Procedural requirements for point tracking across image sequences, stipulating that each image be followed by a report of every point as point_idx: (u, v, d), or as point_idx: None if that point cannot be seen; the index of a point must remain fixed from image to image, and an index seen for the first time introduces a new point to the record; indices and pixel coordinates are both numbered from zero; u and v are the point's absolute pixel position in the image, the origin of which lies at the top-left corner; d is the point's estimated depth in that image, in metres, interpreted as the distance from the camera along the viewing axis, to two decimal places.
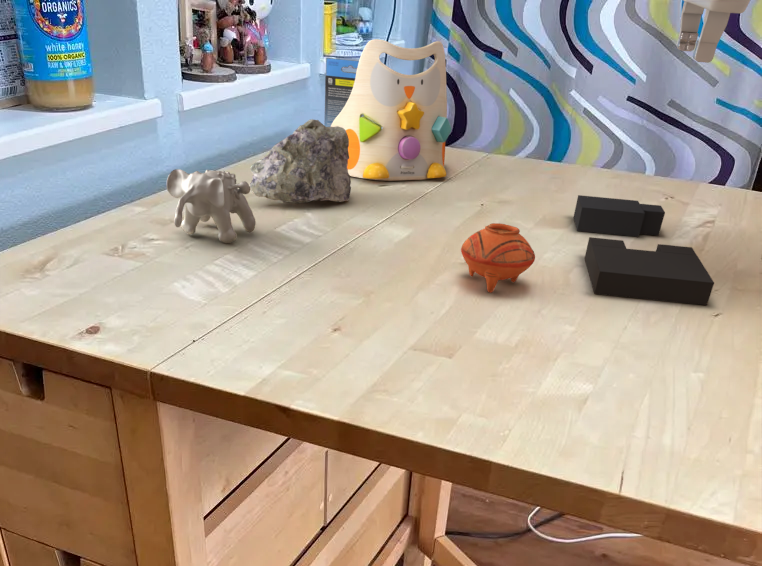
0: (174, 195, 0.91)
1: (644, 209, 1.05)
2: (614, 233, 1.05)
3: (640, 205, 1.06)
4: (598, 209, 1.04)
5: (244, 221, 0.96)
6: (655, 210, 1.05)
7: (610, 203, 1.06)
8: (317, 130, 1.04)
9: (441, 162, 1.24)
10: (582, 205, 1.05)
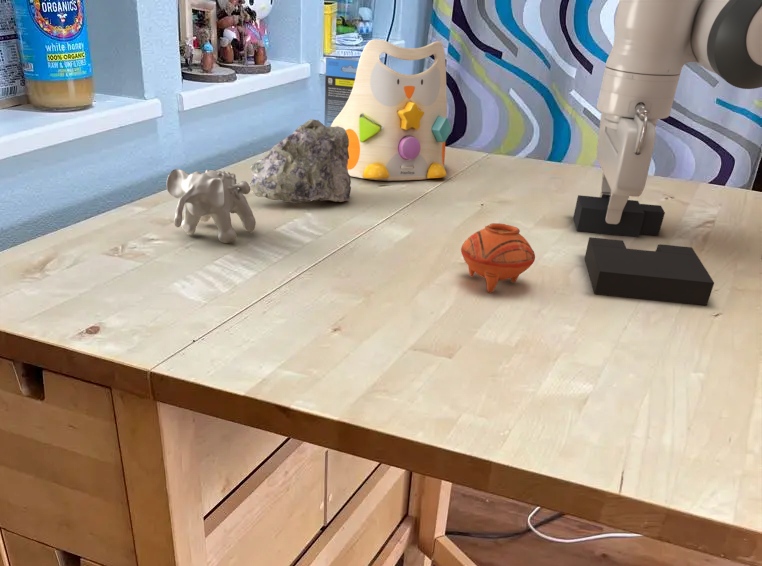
0: (174, 195, 0.91)
1: (644, 209, 1.05)
2: (614, 233, 1.05)
3: (640, 205, 1.06)
4: (598, 209, 1.04)
5: (244, 221, 0.96)
6: (655, 210, 1.05)
7: None
8: (317, 130, 1.04)
9: (441, 162, 1.24)
10: (582, 205, 1.05)
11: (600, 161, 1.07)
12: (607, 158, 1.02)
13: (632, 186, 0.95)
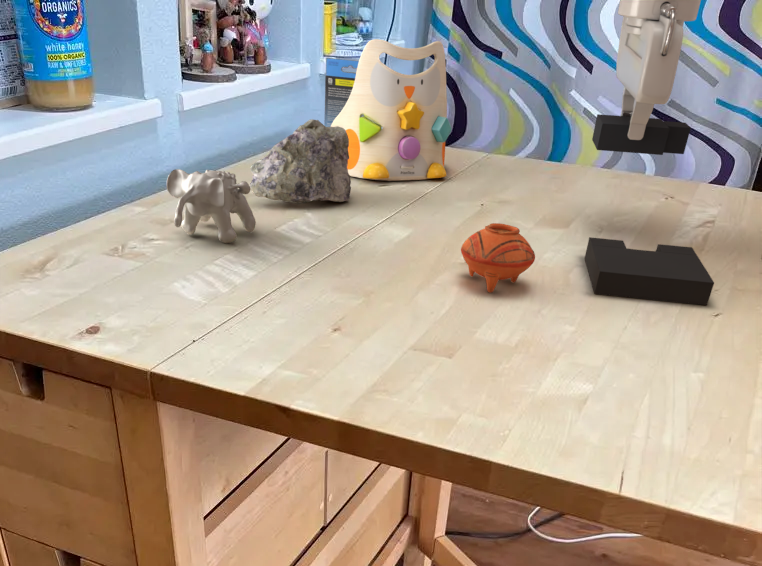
0: (174, 195, 0.91)
1: (668, 125, 0.99)
2: (636, 151, 0.99)
3: (664, 122, 1.00)
4: (619, 125, 0.98)
5: (244, 221, 0.96)
6: (680, 126, 0.98)
7: None
8: (317, 130, 1.04)
9: (441, 162, 1.24)
10: (602, 122, 0.98)
11: (621, 76, 1.01)
12: (629, 69, 0.96)
13: (658, 92, 0.89)
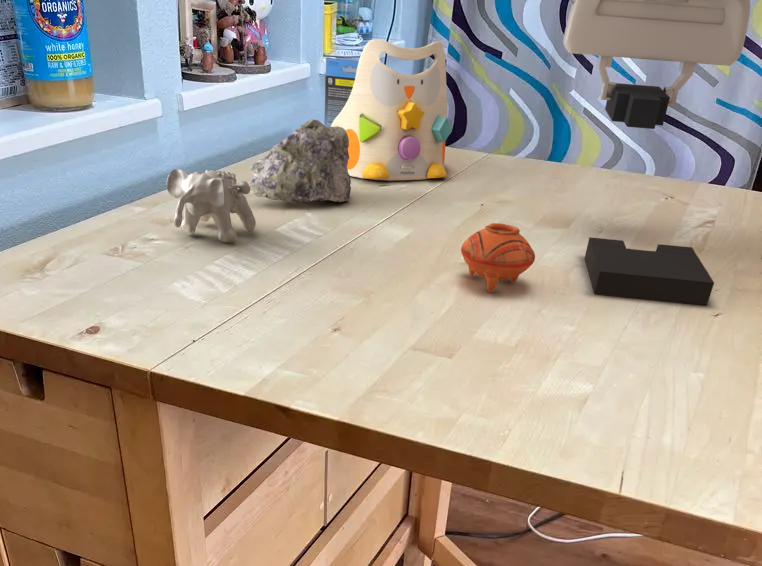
0: (174, 195, 0.91)
1: (634, 94, 0.94)
2: (609, 115, 0.99)
3: (649, 95, 0.94)
4: None
5: (244, 221, 0.96)
6: (636, 96, 0.93)
7: (641, 89, 0.97)
8: (317, 130, 1.04)
9: (441, 162, 1.24)
10: (618, 83, 1.01)
11: None
12: None
13: (564, 39, 0.95)
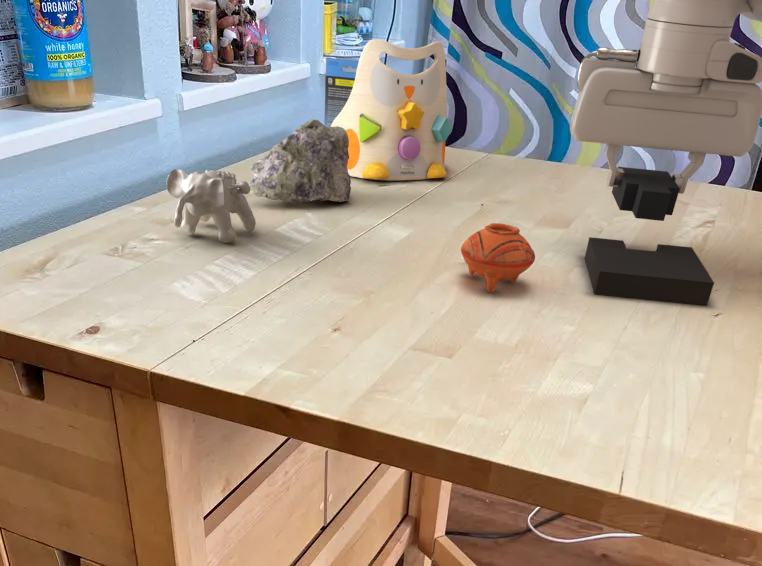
0: (174, 195, 0.91)
1: (643, 185, 0.91)
2: (616, 201, 0.96)
3: (658, 185, 0.91)
4: None
5: (244, 221, 0.96)
6: (645, 188, 0.90)
7: (649, 177, 0.95)
8: (317, 130, 1.04)
9: (441, 162, 1.24)
10: (625, 167, 0.98)
11: None
12: None
13: (571, 126, 0.92)
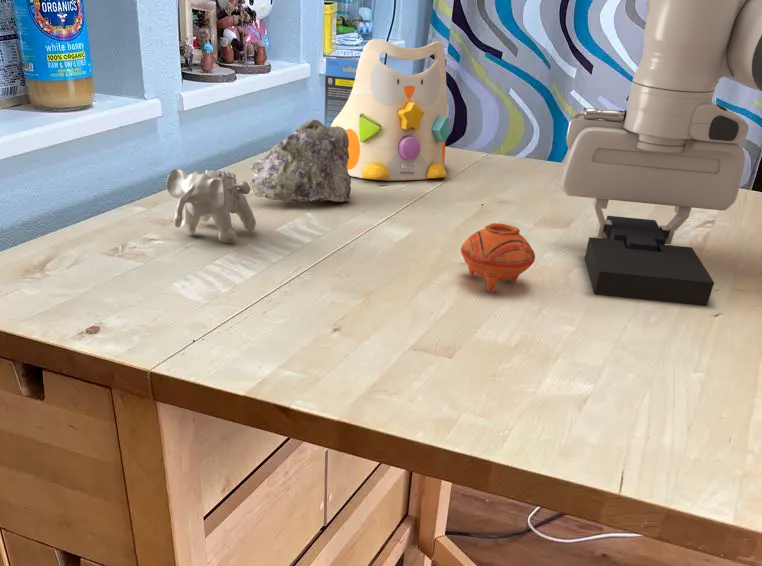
0: (174, 195, 0.91)
1: (630, 236, 0.95)
2: None
3: (645, 237, 0.95)
4: None
5: (244, 221, 0.96)
6: (632, 240, 0.94)
7: (637, 227, 0.98)
8: (317, 130, 1.04)
9: (441, 162, 1.24)
10: (614, 216, 1.01)
11: None
12: None
13: (560, 181, 0.96)
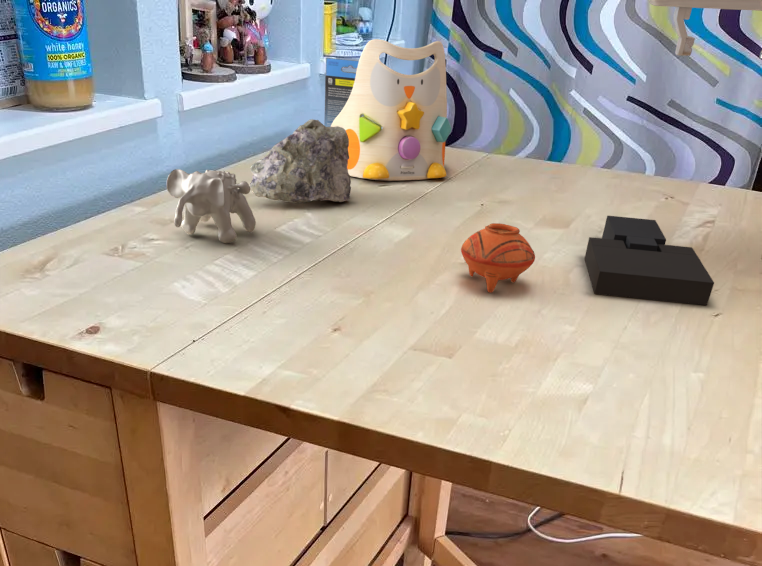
0: (174, 195, 0.91)
1: (630, 236, 0.95)
2: None
3: (645, 237, 0.95)
4: (609, 220, 1.00)
5: (244, 221, 0.96)
6: (632, 240, 0.94)
7: (637, 227, 0.98)
8: (317, 130, 1.04)
9: (441, 162, 1.24)
10: (614, 216, 1.01)
11: None
12: None
13: None
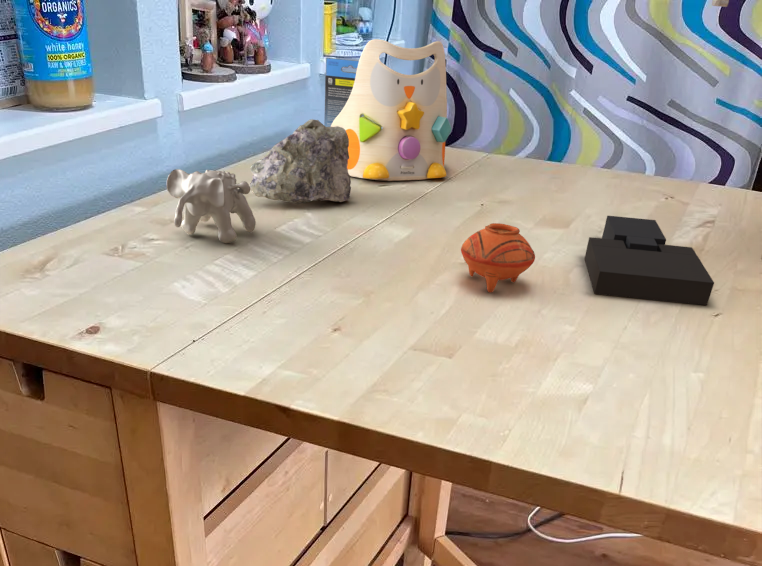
0: (174, 195, 0.91)
1: (630, 236, 0.95)
2: None
3: (645, 237, 0.95)
4: (609, 220, 1.00)
5: (244, 221, 0.96)
6: (632, 240, 0.94)
7: (637, 227, 0.98)
8: (317, 130, 1.04)
9: (441, 162, 1.24)
10: (614, 216, 1.01)
11: None
12: None
13: None
